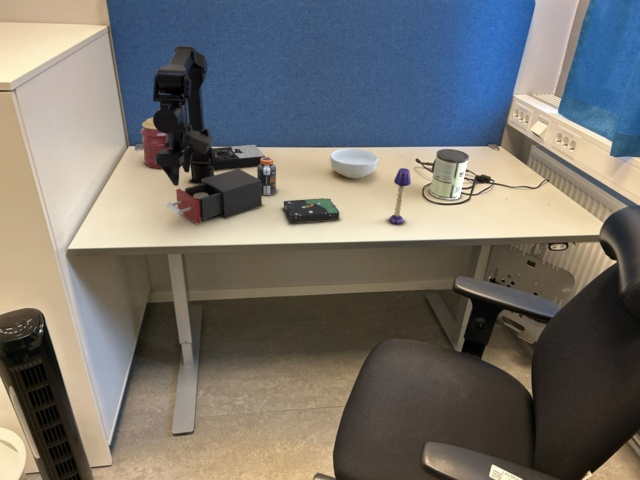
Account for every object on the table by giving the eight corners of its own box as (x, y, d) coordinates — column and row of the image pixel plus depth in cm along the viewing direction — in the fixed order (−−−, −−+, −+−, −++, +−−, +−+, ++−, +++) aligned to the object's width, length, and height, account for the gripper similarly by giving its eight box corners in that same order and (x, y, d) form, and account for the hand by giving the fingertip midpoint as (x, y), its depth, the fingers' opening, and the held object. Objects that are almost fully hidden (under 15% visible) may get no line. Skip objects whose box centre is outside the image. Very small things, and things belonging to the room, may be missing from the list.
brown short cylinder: (205, 213, 133) (204, 199, 131) (191, 210, 134) (190, 197, 132) (212, 207, 137) (211, 193, 135) (198, 204, 138) (197, 191, 135)
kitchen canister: (167, 153, 177) (161, 106, 168) (190, 162, 171) (186, 113, 162) (137, 162, 168) (130, 113, 159) (160, 172, 161) (154, 121, 152)
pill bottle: (272, 196, 150) (273, 163, 144) (255, 194, 151) (254, 160, 145) (278, 189, 155) (278, 156, 149) (260, 186, 156) (260, 154, 150)
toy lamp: (406, 225, 138) (415, 172, 130) (392, 226, 137) (400, 173, 129) (399, 217, 142) (407, 165, 134) (385, 218, 141) (393, 166, 133)
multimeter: (206, 158, 175) (205, 145, 173) (255, 153, 182) (255, 141, 180) (213, 171, 165) (212, 157, 162) (266, 165, 172) (266, 152, 169)
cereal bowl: (365, 164, 179) (367, 146, 175) (383, 181, 166) (386, 162, 162) (323, 167, 174) (324, 149, 170) (338, 185, 160) (340, 165, 157)
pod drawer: (183, 228, 127) (180, 206, 124) (164, 214, 133) (161, 193, 130) (234, 211, 138) (233, 190, 134) (214, 199, 144) (213, 179, 140)
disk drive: (290, 225, 134) (339, 220, 138) (290, 216, 133) (340, 211, 137) (282, 208, 143) (329, 204, 147) (283, 200, 142) (329, 196, 145)
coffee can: (433, 185, 165) (440, 146, 158) (462, 191, 162) (471, 152, 155) (426, 195, 157) (433, 155, 150) (456, 202, 154) (466, 162, 147)
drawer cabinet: (224, 218, 135) (223, 191, 131) (203, 204, 142) (201, 178, 138) (261, 205, 144) (261, 180, 140) (239, 193, 151) (238, 168, 146)
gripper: (197, 135, 110) (201, 195, 118) (216, 113, 127) (219, 168, 134) (150, 131, 111) (158, 192, 119) (176, 110, 127) (181, 165, 135)
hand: (181, 178), depth 127 cm, fingers open, 9 cm apart
